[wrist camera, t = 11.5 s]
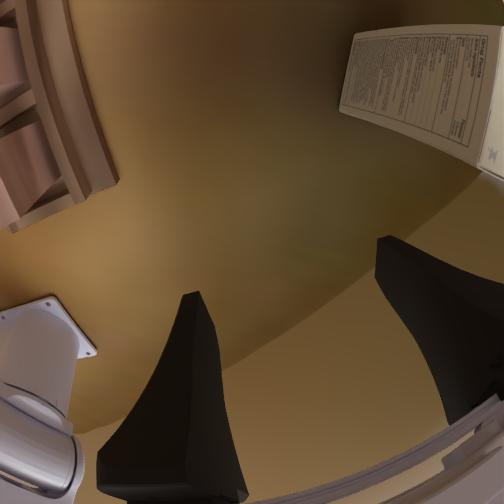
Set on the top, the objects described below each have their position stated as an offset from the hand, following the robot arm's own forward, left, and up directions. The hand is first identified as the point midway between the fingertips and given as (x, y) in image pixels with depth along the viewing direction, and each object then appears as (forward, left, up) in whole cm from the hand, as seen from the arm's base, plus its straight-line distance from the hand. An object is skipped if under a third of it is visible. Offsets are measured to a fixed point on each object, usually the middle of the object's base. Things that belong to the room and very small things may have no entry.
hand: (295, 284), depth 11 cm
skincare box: (+10, +6, -11) cm, 16 cm away
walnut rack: (-13, +14, -10) cm, 22 cm away
